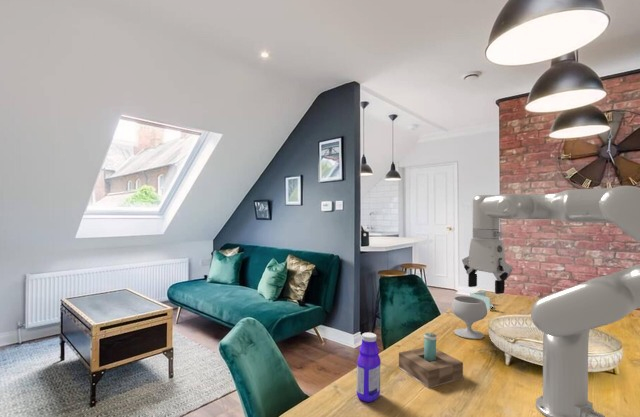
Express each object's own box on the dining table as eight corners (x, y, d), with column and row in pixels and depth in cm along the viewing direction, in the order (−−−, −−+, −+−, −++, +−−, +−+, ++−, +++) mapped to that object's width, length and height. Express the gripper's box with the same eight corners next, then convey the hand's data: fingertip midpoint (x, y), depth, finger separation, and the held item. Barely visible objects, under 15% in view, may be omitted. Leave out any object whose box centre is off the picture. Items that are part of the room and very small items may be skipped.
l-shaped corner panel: (489, 312, 178) (489, 298, 178) (470, 306, 188) (470, 293, 189) (503, 309, 184) (503, 295, 184) (483, 304, 194) (484, 291, 194)
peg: (438, 373, 108) (438, 336, 108) (429, 375, 106) (430, 337, 106) (430, 368, 111) (430, 332, 111) (421, 370, 109) (421, 333, 110)
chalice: (464, 326, 153) (464, 294, 153) (493, 336, 141) (494, 301, 141) (444, 332, 145) (444, 298, 146) (474, 343, 134) (474, 305, 134)
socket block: (463, 378, 105) (463, 362, 105) (428, 388, 99) (428, 371, 99) (431, 359, 118) (431, 345, 118) (397, 367, 112) (398, 352, 112)
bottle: (366, 388, 99) (367, 329, 99) (383, 394, 95) (384, 333, 95) (352, 398, 93) (353, 335, 93) (370, 406, 90) (371, 341, 90)
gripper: (520, 236, 98) (520, 295, 97) (471, 232, 113) (471, 283, 113) (502, 237, 95) (502, 297, 94) (455, 233, 110) (454, 285, 110)
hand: (485, 289), depth 104 cm, fingers open, 9 cm apart
